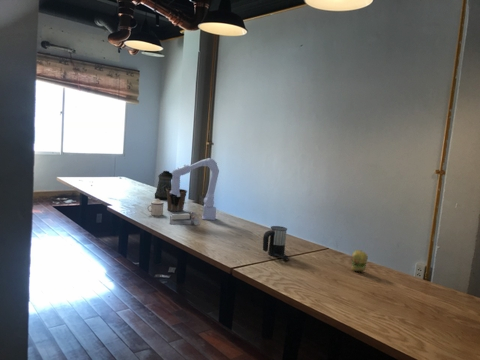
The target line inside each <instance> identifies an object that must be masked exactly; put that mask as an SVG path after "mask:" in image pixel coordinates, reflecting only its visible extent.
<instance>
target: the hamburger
mask: <svg viewBox="0 0 480 360" xmlns="http://www.w3.org/2000/svg"><path fill="white" fill-rule="evenodd" d="M351 258H352V262H351V263H352V264H351V265H352V266H351V268H350V269H351V270H352V271H356V272H364V271H365V270H366V266H367V265H366V264H367V262H368V260H369V257H368V255H367V253H366V252H364V251H363V249H361V250H358V249H357V250H354V251H353V252H352V254H351Z"/></svg>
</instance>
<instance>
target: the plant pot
mask: <svg viewBox="0 0 480 360" xmlns="http://www.w3.org/2000/svg"><path fill="white" fill-rule="evenodd" d="M166 191H167V200H166V202H167V203H166V205H167V206H166V207H167V208H166V209H167V210H168V212H173V213H177V212H179V213H180V212H183V211H184V207H185V201H186V197H187V193H188V190H186V189H184V188H183V189H182V188H180V190H179V192H180V196H181V198H180V200H179V203H178V206H174V204H172V203H171V198H170V196H169V194H171V193H170V192H171V189H166Z"/></svg>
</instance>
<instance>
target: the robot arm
mask: <svg viewBox="0 0 480 360" xmlns="http://www.w3.org/2000/svg"><path fill="white" fill-rule="evenodd" d="M200 167H208V168H209V170H210V171H211V175H210V179H209V183H208V187H207V192H206V194H205V197H204V198H203V200H202V201H203V203H204V204H203V205H202V208H203V210H202V216H201V219H202V220H210V221H216V217H217V216H216V215H217V207H216V206H214V204H215V201H214V200H215V190H216V187H217V186H216V185H217V181H218V177H219V173H220V170H219V167H218V164H217V162H216V160H215V159H213V158H211V157H207V158H205V159H204V158H203V159H201V160H199V161H197V162H195V163H192V164H191V165H189V164H184V165H183V166H180V167H177V168H174V169H173V170H172V172H171V173H172V175H173V176H172V179H171V186H172V188H171V192H170V193H171V194H169V196H170V198H171V203H172V204H174V206H178V203H179V200H180V198H181V196H180V192H179V190H180V189H181V187H180V186H181V176H184V175H187V174H189V173H191V171H192V170H194V169H197V168H200Z"/></svg>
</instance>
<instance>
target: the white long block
mask: <svg viewBox="0 0 480 360" xmlns="http://www.w3.org/2000/svg"><path fill="white" fill-rule="evenodd" d="M189 218H190V213H173V214H171V219H172V220H176V219H189Z"/></svg>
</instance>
